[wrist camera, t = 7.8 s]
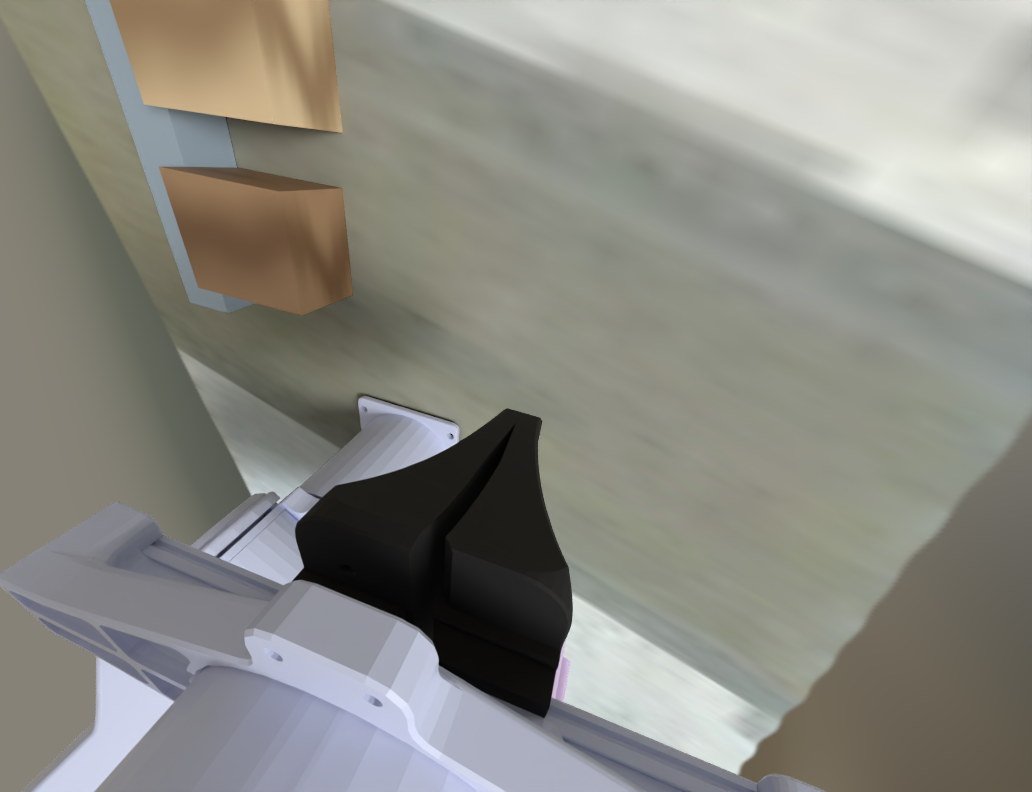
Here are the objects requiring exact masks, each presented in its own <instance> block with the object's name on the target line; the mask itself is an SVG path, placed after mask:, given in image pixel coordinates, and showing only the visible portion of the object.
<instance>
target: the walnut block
mask: <svg viewBox="0 0 1032 792" xmlns="http://www.w3.org/2000/svg"><path fill="white" fill-rule="evenodd" d="M159 170H160V173H161V176H162V179H163V182H164V185H165V188H166V191H167V194H168V197H169V200H170V203H171V206H172V209H173V212H174V215H175V218H176V221H177V224H178V227H179V231H180V234H181V237H182V240H183V243H184V246H185V249H186V252H187V255H188V258H189V261H190V264H191V267H192V270H193V273H194V276H195V279H196V282H197V285H198V288H201V289H205V290H209V291H212V292H216V293H220V294H223V295H227V296H231V297H234V298H238V299H242V300H245V301H249V302H253V303H256V304H260V305H264V306H267V307H271V308H275V309H278V310H282V311H286V312H289V313H293V314H297V315H300V316H303V315H305V314H307V313H310V312H312V311H315V310H317V309H319V308H322V307H324V306H327V305H329V304H332V303H334V302H336V301H339V300H341V299H344V298H346V297H348V296H351V295H353V289H352V279H351V269H350V259H349V249H348V239H347V230H346V220H345V210H344V200H343V190H342V188H338V187H333V186H328V185H323V184H318V183H313V182H308V181H303V180H298V179H293V178H288V177H283V176H278V175H273V174H268V173H263V172H258V171H253V170H248V169H243V168H231V167H159Z"/></svg>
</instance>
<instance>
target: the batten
mask: <svg viewBox="0 0 1032 792" xmlns="http://www.w3.org/2000/svg"><path fill="white" fill-rule="evenodd" d="M85 2H86V5H87V7H88V10H89V13H90V16H91V19H92V22H93V25H94V28H95V30H96V33H97V36H98V39H99V42H100V45H101V48H102V51H103V54H104V56H105V59H106V62H107V65H108V68H109V71H110V74H111V77H112V80H113V82H114V85H115V88H116V91H117V94H118V97H119V100H120V103H121V105H122V108H123V111H124V114H125V117H126V120H127V123H128V126H129V129H130V131H131V134H132V137H133V140H134V143H135V146H136V149H137V152H138V155H139V157H140V160H141V163H142V166H143V169H144V172H145V175H146V178H147V181H148V183H149V186H150V189H151V192H152V195H153V198H154V201H155V204H156V206H157V209H158V212H159V215H160V218H161V221H162V224H163V227H164V230H165V232H166V235H167V238H168V241H169V244H170V247H171V250H172V253H173V256H174V258H175V261H176V264H177V267H178V270H179V273H180V276H181V279H182V281H183V284H184V287H185V290H186V293H187V296H188V299H189V302H190V303H193V304H197V305H200V306H204V307H207V308H211V309H215V310H218V311H222V312H225V313H230V312H233V311H236V310H239V309H242V308H245V307H248V306H251V305H254V304H256V303H253V302H249V301H245V300H242V299H238V298H234V297H231V296H227V295H223V294H220V293H216V292H212V291H209V290H205V289H201V288H198V285H197V282H196V279H195V276H194V273H193V270H192V267H191V264H190V261H189V258H188V255H187V252H186V249H185V246H184V243H183V240H182V237H181V234H180V231H179V227H178V224H177V221H176V218H175V215H174V212H173V209H172V206H171V203H170V200H169V197H168V194H167V191H166V188H165V185H164V182H163V179H162V176H161V173H160V170H159V167H231V168H237V165H236V161H235V157H234V152H233V148H232V143H231V139H230V135H229V130H228V126H227V122H226V117H224V116H217V115H211V114H204V113H197V112H191V111H184V110H177V109H171V108H164V107H157V106H151V105H144V103H143V100H142V97H141V94H140V91H139V88H138V85H137V82H136V79H135V76H134V73H133V70H132V67H131V64H130V61H129V58H128V55H127V52H126V49H125V46H124V43H123V40H122V37H121V34H120V31H119V28H118V25H117V22H116V19H115V16H114V13H113V10H112V7H111V4H110V1H109V0H85Z"/></svg>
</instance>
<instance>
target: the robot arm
mask: <svg viewBox="0 0 1032 792" xmlns="http://www.w3.org/2000/svg"><path fill="white" fill-rule="evenodd" d="M358 405H359V414H360V424H361V432H359V433H358V434H357V435H356V436H355V437H354V438H353V439H352V440H351V441H349V442H348V443H347V444H346V445H345V446H344V447H343V448H342V449H341V450H340V451H338V452H337V453H336V454H335V455H334V456H333V457H332V458H331V459H330V460H328V461H327V462H326V463H325V464H324V465H323V466H322V467H321V468H320V469H319V470H317V471H316V472H315V473H314V474H313V475H312V476H311V477H310V478H309V479H308V480H306V481H305V482H304V483H303V484H302V485H301V486H300V487H297V488H296V489H295V490H294V491H293V492H291V493H290V494H289V495H288V496H287V497H286V498H284V499H283V500H282V501H281V502H280V503H279V504H277V503H276V502H277V501H278V500H279V499H280V497H279V496H278V495H277V494H276V493H275V492H269V493H268V494H266V493H259V494H254V495H253V496H251V497H250V498H249V499H247V500H246V501H245V502H243V503H242V504H241V505H239V506H238V507H237V508H236V509H234V510H233V511H232V512H231V513H229V514H228V515H227V516H226V517H224V518H223V519H222V520H221V521H220V522H218V523H217V524H216V525H215V526H213V527H212V528H211V529H210V530H209V531H208V532H206V533H205V534H204V535H203V536H201V537H200V538H199V539H198V540H197V541H195V542H194V543H193V544H192V545H191V546H188V545H186V544H183V543H181V542H179V541H177V540H174V539H172V538H169V537H167V536H165V535H163V532H162V529H161V527H160V526H159V524H158V523H157V522H156V520H155V519H154V518H153V517H151V516H150V515H148V514H147V513H145V512H142V511H140V510H138V509H135V508H133V507H130V506H128V505H125V504H123V503H120V502H114V503H112V504H111V505H109V506H107V507H106V508H104V509H103V510H101V511H99V512H98V513H96V514H94V515H93V516H91V517H90V518H88V519H86V520H85V521H83V522H82V523H80V524H78V525H77V526H75V527H73V528H72V529H70V530H69V531H67V532H65V533H64V534H63V535H61V536H59V537H57V538H56V539H54V540H53V541H51V542H49V543H48V544H46V545H44V546H43V547H41V548H40V549H38V550H36V551H35V552H33V553H31V554H30V555H28V556H27V557H25V558H23V559H22V560H20V561H19V562H17V563H15V564H14V565H12V566H11V567H9V568H7V569H6V570H4V571H2V572H1V573H0V587H1V588H3V589H4V590H5V591H6V592H7V593H8V594H9V595H10V596H11V597H13V598H14V599H15V600H16V601H17V602H18V603H19V604H20V605H21V606H23V607H24V608H25V609H26V610H27V611H28V612H29V613H30V614H32V615H33V616H34V617H35V618H36V619H37V620H38V621H39V622H40V623H41V624H42V625H44V626H45V627H46V628H47V629H48V630H49V631H50V632H52V633H54V634H56V635H58V636H59V637H62V638H63V639H65V640H67V641H69V642H71V643H73V644H75V645H77V646H78V647H80V648H82V649H84V650H86V651H88V652H89V653H91V654H93V655H95V656H96V716H95V721H94V722H93V723H92V724H91V725H90V726H88V728H86V729H85V730H84V732H82V733H81V734H80V735H79V736H78V737H77V738H76V739H75V740H74V741H73V742H72V743H71V744H70V745H69V746H67V747H66V748H65V750H63V751H62V752H61V753H60V754H59V755H58V756H57V757H56V758H55V759H54V760H53V761H52V762H51V763H50V764H49V765H47V767H46V768H44V769H43V770H42V771H41V772H40V773H39V774H38V775H37V776H36V777H35V778H34V779H33V780H32V781H31V782H30V783H29V784H28V785H26V786H25V787H24V788H23V789H22V790H21V791H20V792H827V791H824V790H822V789H819V788H817V787H814V786H812V785H809V784H807V783H805V782H802V781H800V780H797V779H795V778H792V777H789V776H785V775H781V774H770V775H767V776H765V777H763V778H762V779H761V780H760V781H759V782H758V783H755V782H753V781H751V780H748V779H746V778H743V777H741V776H739V775H736V774H734V773H731V772H729V771H727V770H724V769H722V768H720V767H717V766H715V765H712V764H710V763H708V762H705V761H703V760H700V759H698V758H696V757H693V756H691V755H688V754H686V753H684V752H681V751H679V750H676V749H674V748H672V747H669V746H667V745H664V744H662V743H660V742H657V741H655V740H653V739H650V738H648V737H645V736H643V735H641V734H638V733H636V732H633V731H631V730H629V729H626V728H624V727H621V726H619V725H617V724H614V723H612V722H609V721H607V720H605V719H602V718H600V717H598V716H595V715H593V714H590V713H588V712H586V711H583V710H581V709H578V708H576V707H574V706H571V705H569V704H566V703H564V702H562V701H559V700H557V699H554V698H552V692H553V686H554V681H555V675H556V670H557V668H558V665H559V661H560V655H561V649H562V646H563V644H564V642H565V639H566V637H567V635H568V632H569V630H570V627H571V623H572V612H573V604H572V590H571V582H570V575H569V568H568V565H567V563H566V561H565V559H564V557H563V555H562V552H561V550H560V548H559V545H558V543H557V540H556V537H555V535H554V532H553V529H552V526H551V523H550V520H549V516H548V513H547V510H546V506H545V502H544V498H543V493H542V488H541V482H540V475H539V466H538V439H539V435H540V430H541V425H542V420H541V419H540V418H539V417H536V416H532V415H529V414H525V413H522V412H518V411H515V410H511V409H508V408H507V409H505V410H503V411H502V412H501V413H500V414H498V415H497V416H496V417H495V418H493V419H492V420H491V421H489V422H488V423H487V424H485V425H484V426H482V427H481V428H480V429H478V430H477V431H475V432H474V433H472V434H471V435H469V436H468V437H466V438H465V439H463V440H461V441H460V442H459V427H458V425H456V424H455V423H453V422H449V421H446V420H443V419H440V418H436V417H433V416H430V415H427V414H423V413H420V412H417V411H413V410H410V409H407V408H404V407H400V406H397V405H394V404H391V403H387V402H384V401H381V400H377V399H374V398H371V397H368V396H362V397H361V398H359V400H358ZM365 407H366V408H367V409H366V408H365ZM450 433H451V434H452V435H453V436H452V435H450Z"/></svg>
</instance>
